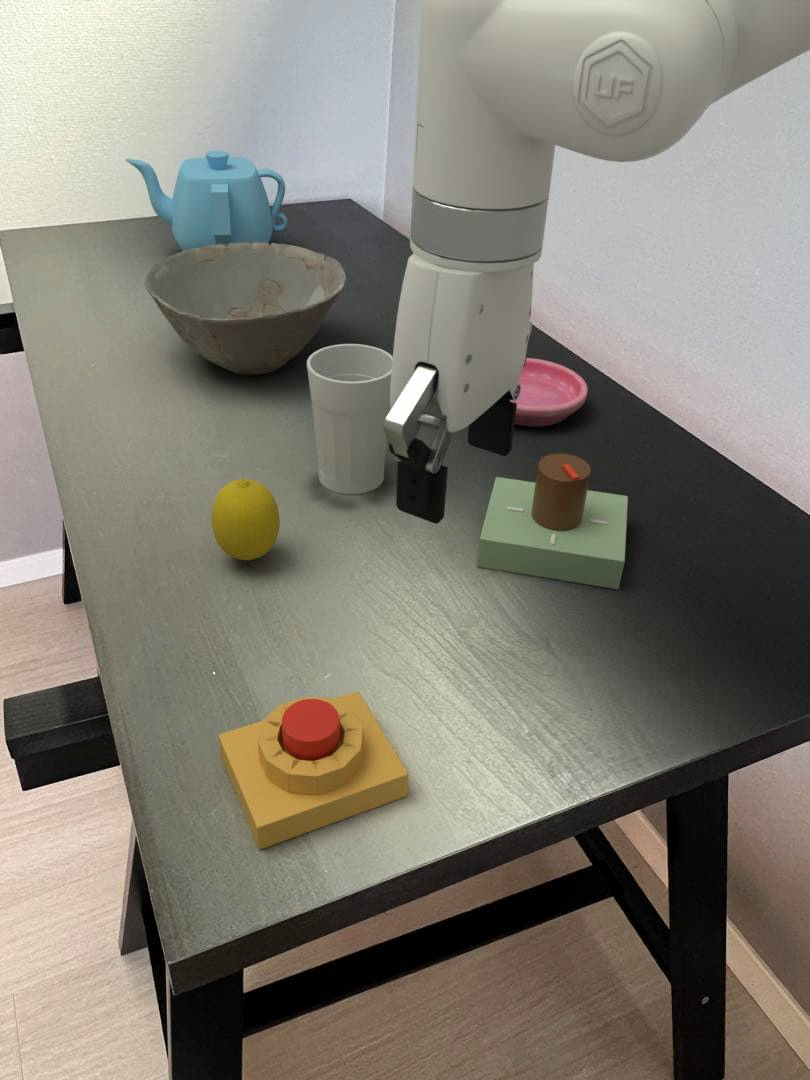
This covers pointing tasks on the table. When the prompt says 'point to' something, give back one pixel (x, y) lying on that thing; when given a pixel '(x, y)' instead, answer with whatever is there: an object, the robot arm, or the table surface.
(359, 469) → the cup
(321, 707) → the button
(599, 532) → the panel
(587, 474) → the knob
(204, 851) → the table surface
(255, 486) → the lemon
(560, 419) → the saucer
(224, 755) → the button box
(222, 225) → the teapot
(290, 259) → the ceramic bowl
